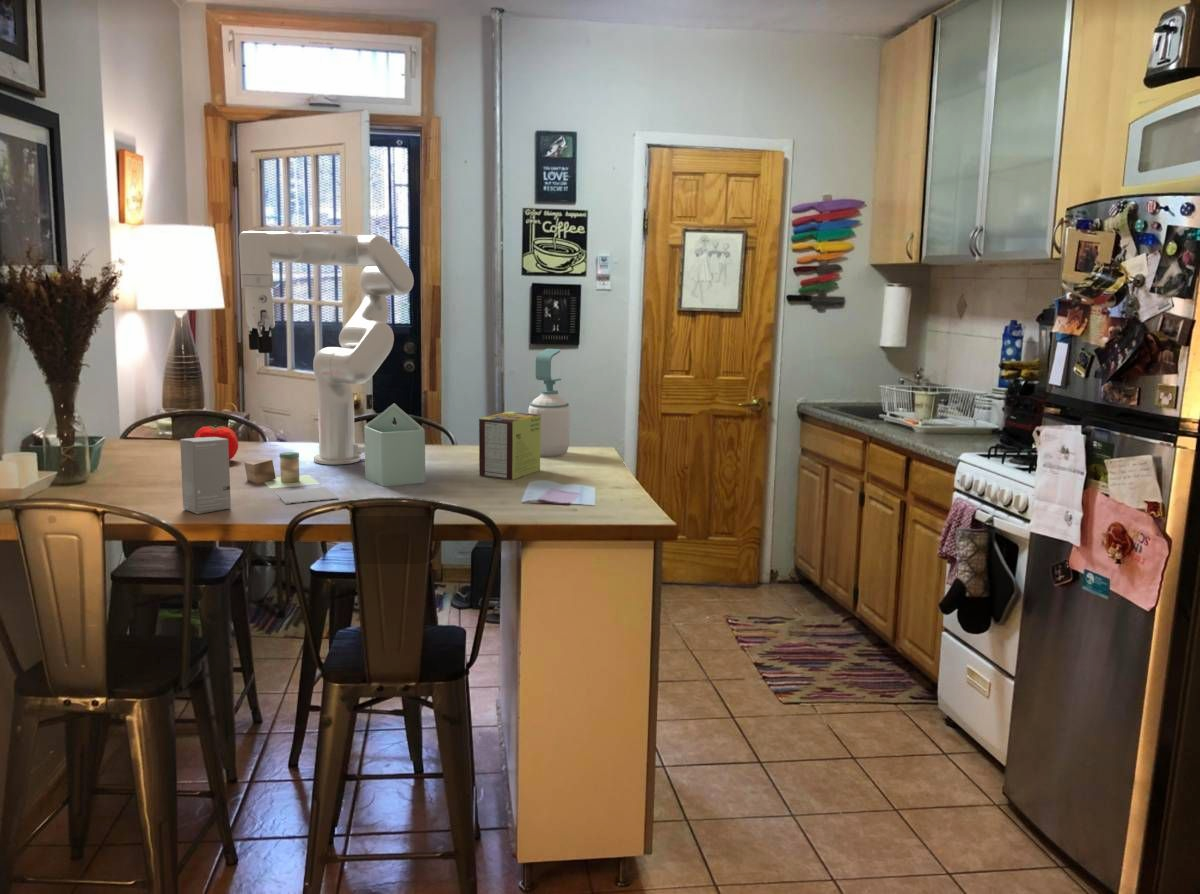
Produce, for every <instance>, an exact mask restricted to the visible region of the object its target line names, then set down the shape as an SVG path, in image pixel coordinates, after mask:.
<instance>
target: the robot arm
mask: <svg viewBox="0 0 1200 894" xmlns="http://www.w3.org/2000/svg"><path fill="white" fill-rule="evenodd" d="M238 236H239V237H238V244H239V247H238V248H239V267H240V283H241V284H240V285H241V289H245V295H244V296H245V316H246V318H245V320H246V324H247V326H248V348H249V350H250V351H258V354H272V353H273V342H272V339H273V338H272V331H271V329H274V328H275V326H276V321H275V311H274V309H275V308H274V300H273V293H272V289H274V275H273V272H274V271H273V270H274V269H273V268H274V267H273V263H292V264H293V263H296V264H297V263H298V264H307V265H313V266H339V267H340V266H341V267H342V266H343V267H344V266H345V267H364V268H363V270H362V271H361V273H360V277H359V284H360V290H361V303H360V305H359V307H358V308H357V309H356V310H355V312H354V314H353V315H352V316H351V317H350V319H349V320H348V321H347V322H346V323H345V325H344V326H343V328H342V329H341V331H340V332H339V335H338V343H339V345H340V347H339V346H327V347H323V348H321V349H320V350H318V351H317V352H316V354H315V355H314V357H313V361H312V362H313V363H312V368H313V373H314V378H315V381H316V383H315V384H316V389H317V416H318V417H317V418H318V420H317V421H318V442H319V443H318V445H319V446H318V447H319V451H318V453H319V454H317V455H315V456H313V462H315V463H316V464H321V465H333V466H334V465H347V464H354V463H358V462H360V461H361V460H362V459H361V458H362V457H361V456H362V455H361V454H362V453H364V454H365V445H359V444H357V443H356V441H355V439H356V438H355V401H354V400H355V399H354V393H353V390H352V387H351V385H362V384H365V383H367V382H368V381H369V380H370V379H371V378H372V377H373V376H374V375H375V373H376V372H377V371H378V369H380V367H381V365H382V364H383V363H384V361H385V360H386V359H387V357H388V356H389V354H390V353H391V351H392V349H393V346H394V343H395V342H394V341H395V335H394V332H393V329H392V327H391V326H390V325H389V324H387V321H388V320H389V316H390V309H389V305H388V300H387V296H404V295H407V294H409V293H410V291H411V290H412V289H413V287H414V282H415V280H414V274H413V272H412V270H411V269H410V267H409V265H408V264H407V263H406V262H405V260H404V258H402V256H401V255H400V253H399V252H398V250H397V249H395V248H394V246H393V245H392V244H391V243H390V242H389V241H388V240H387V239H386V238H385V237H384V236H381V235H379V234H351V233H350V234H347V233H333V232H307V233H294V232H290V231H255V230H248V231H247V230H246V231H242V232H240V233H239V235H238Z"/></svg>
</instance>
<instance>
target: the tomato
mask: <svg viewBox="0 0 1200 894" xmlns="http://www.w3.org/2000/svg"><path fill="white" fill-rule="evenodd" d="M200 437H202V438H204V437H219V438H225V439H228V447H229V461H230V460H231V459H233V458H234V457H235V456H236V455H237V452H238V449H239V441H238V436H237V434H236V432H234V430H232V429H231V428H230V427H227V426H226V425H221V426H218V425H217V424H215V425H214V426H212V425H208V426H205V425H204V426H201V428H199V429H198V430H197V431H196V432H195V434H194V437H193V438H200Z"/></svg>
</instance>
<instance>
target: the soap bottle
mask: <svg viewBox="0 0 1200 894" xmlns="http://www.w3.org/2000/svg"><path fill="white" fill-rule="evenodd" d="M559 353H561V349H559V348H546V349H543V350H541V352H539V353H537V355H536V356H535V379H536V380H537V381H543V385H545V389H542V390H540V395H538V396H537V397H536V398H534V399H533V400H532V401H531V402H530V403H529V406H528V412H527V413H530V414H541V440H540V456H541V457H540V458H542V457H544V458H556V457H557V456H558V457H563V455H565V454H566V453H567V451H568V450H569V446H570V424H571V421H570V420H571V418H570V417H571V408H570V406H569V405H570V403H569V402H567V401H566V400H565V399H564V398H562V397H561V396H560V395H559V391H558V390H555V389H554V385H556V382H559V381H561V380H562V378H561V377H552V376H551V375H552V359H553V357H555V356H556V355H558V354H559ZM558 457H557V458H558Z"/></svg>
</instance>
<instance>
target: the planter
mask: <svg viewBox="0 0 1200 894" xmlns="http://www.w3.org/2000/svg"><path fill="white" fill-rule="evenodd" d="M394 420H395V422H396V424H394V423H393V422H394ZM364 446H365V453H364V469H365V470H364V473H365V474H364V475H365V476H364V477H365V479H366V480H368V481H370V482H372V483H375V484H376V485H378V486H380V487H393V486H394V487H395V486H405V485H412V484H413V485H414V484H425V483H426V431H425V428H424V427H423V426H422V425H420V424H419V423H418V422H417V421H416V420H415V419H414V418H412V416H410V415H408V414H407V413H406V412H405V411H404V410H403V409H402V408H400V407H399V406H398V405H397V404H396V403H392V404H391V405H390V406H388V407H387V408H386V409H384V410H383V412H381V413H380V414H378V415H377V416H375V418H373V419H372V420H370V421H369V422H367V423H366V424H365V425H364Z"/></svg>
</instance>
